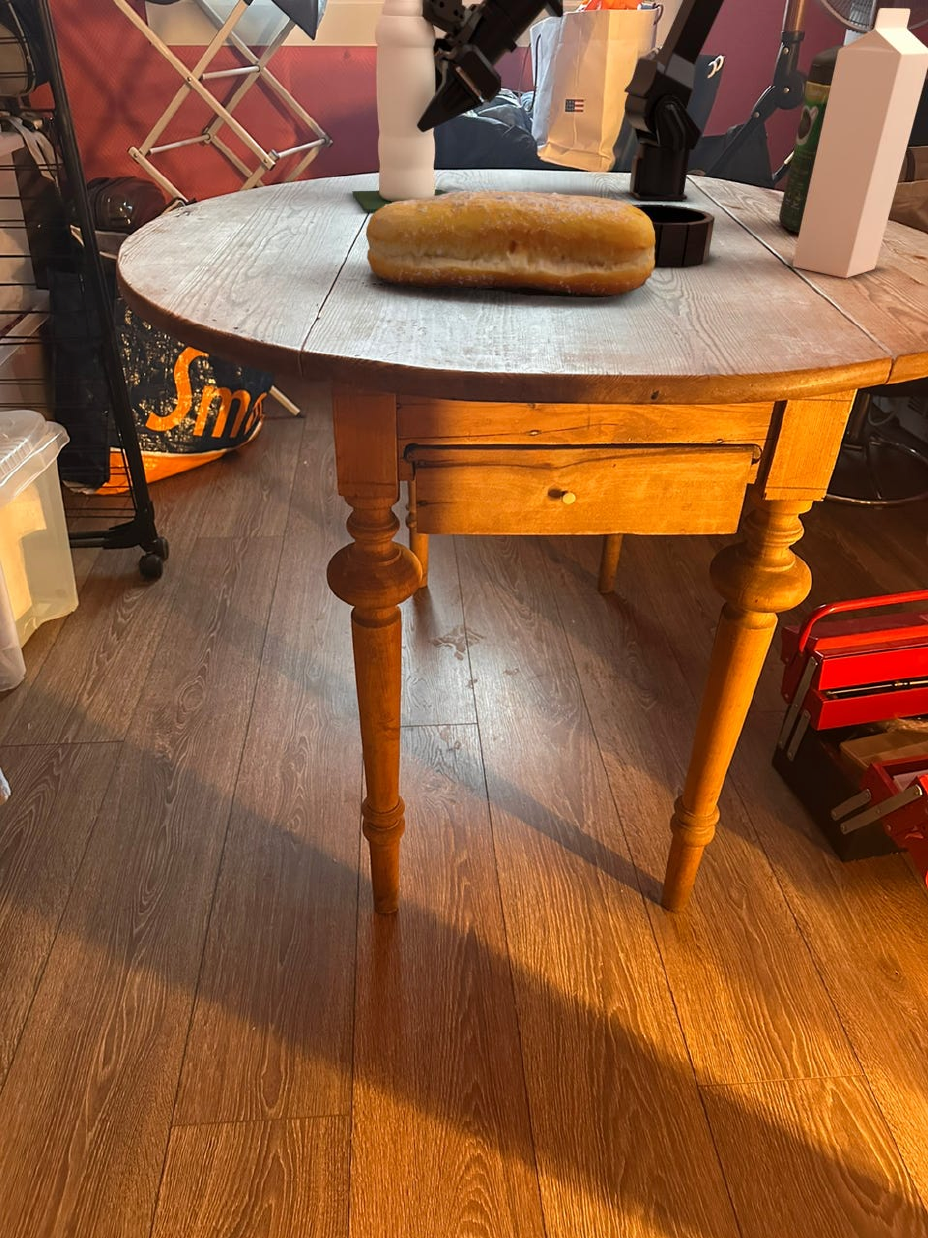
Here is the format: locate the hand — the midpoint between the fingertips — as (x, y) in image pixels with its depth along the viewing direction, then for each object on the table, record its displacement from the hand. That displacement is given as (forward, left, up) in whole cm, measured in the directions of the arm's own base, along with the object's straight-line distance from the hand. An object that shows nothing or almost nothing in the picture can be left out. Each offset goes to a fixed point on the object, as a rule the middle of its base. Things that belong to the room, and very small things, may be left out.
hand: (411, 124), depth 112 cm
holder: (-25, +27, -9) cm, 38 cm away
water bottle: (+1, 0, -9) cm, 9 cm away
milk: (-42, +32, -9) cm, 54 cm away
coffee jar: (-47, +14, -9) cm, 50 cm away
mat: (+1, 0, -9) cm, 9 cm away
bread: (-8, +39, -9) cm, 41 cm away
